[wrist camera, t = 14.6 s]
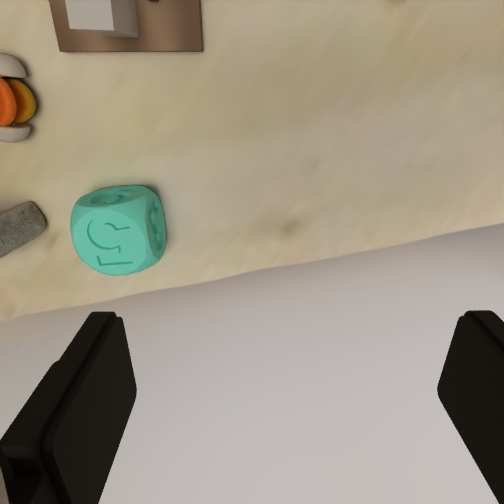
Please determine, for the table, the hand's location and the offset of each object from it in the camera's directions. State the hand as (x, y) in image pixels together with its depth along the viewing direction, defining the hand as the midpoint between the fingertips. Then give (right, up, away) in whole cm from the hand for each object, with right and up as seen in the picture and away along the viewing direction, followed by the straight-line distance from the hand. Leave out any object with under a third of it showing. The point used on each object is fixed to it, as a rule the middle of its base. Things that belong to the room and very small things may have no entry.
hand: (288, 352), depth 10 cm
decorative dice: (-16, +7, +35) cm, 39 cm away
